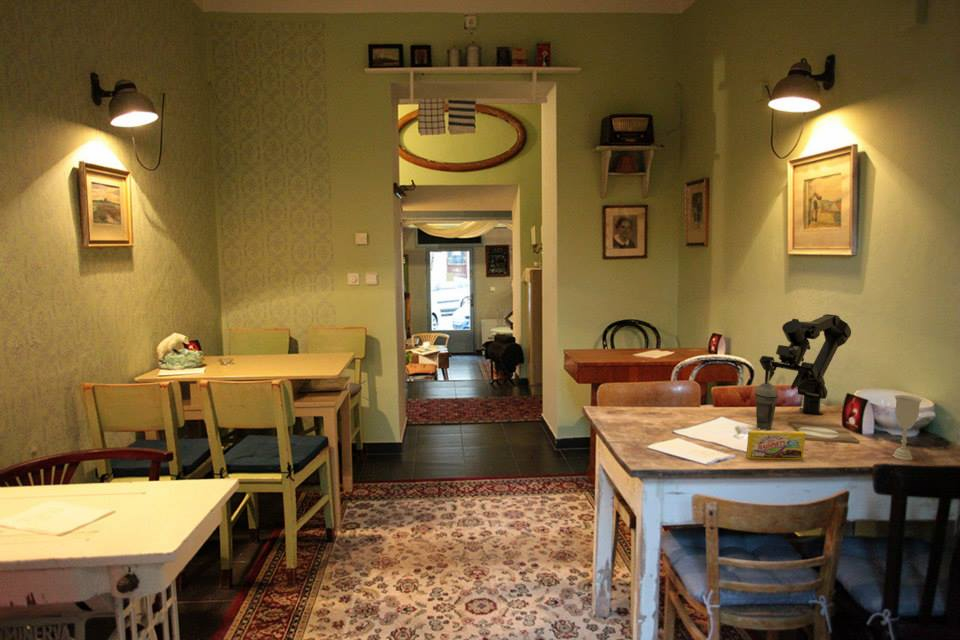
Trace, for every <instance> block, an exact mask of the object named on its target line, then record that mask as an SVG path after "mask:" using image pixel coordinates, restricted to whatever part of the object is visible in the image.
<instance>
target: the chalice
mask: <svg viewBox="0 0 960 640" xmlns="http://www.w3.org/2000/svg"><path fill="white" fill-rule="evenodd" d="M894 398H895V401H896V402H895V412H894V414H895V417H896V420H897V422H898V425H899V427H900V428H901V429H902V430H903V432H902V434H901V436H902V438H901V440H900V442H901V446H900V447H898V448H896V449H895V451H894V453H892V457H893V456H894V458H896V459H900V460H905V461H909V460H910V461H911V460H913V456H912V454H911V451H910V450H909V449H907V447H906V444H907V443H908V440H907V438H908V436H909V435H908V430H909V429H912V427H913V425H914V424H915V423H916V421H917V419H918V418H919V415H920V405H921V402H922V401H923V399H922V398H921V397H918V396H914V395H907V394H906V395H905V394H898V395H895V396H894Z"/></svg>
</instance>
